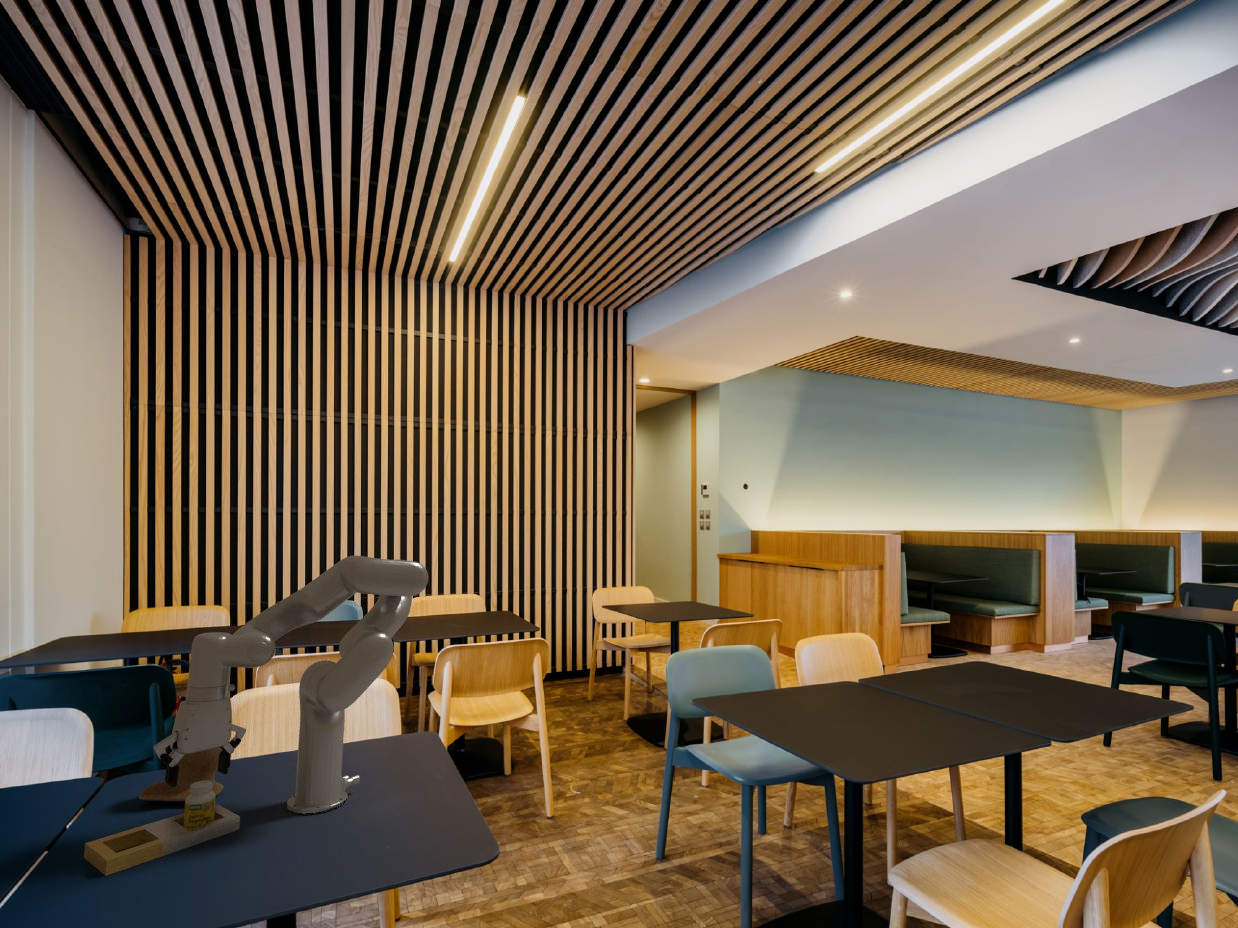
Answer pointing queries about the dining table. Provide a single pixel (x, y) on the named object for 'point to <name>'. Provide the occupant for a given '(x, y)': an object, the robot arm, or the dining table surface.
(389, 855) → the dining table surface
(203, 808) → the supplement bottle
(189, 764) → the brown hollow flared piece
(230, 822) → the holder
